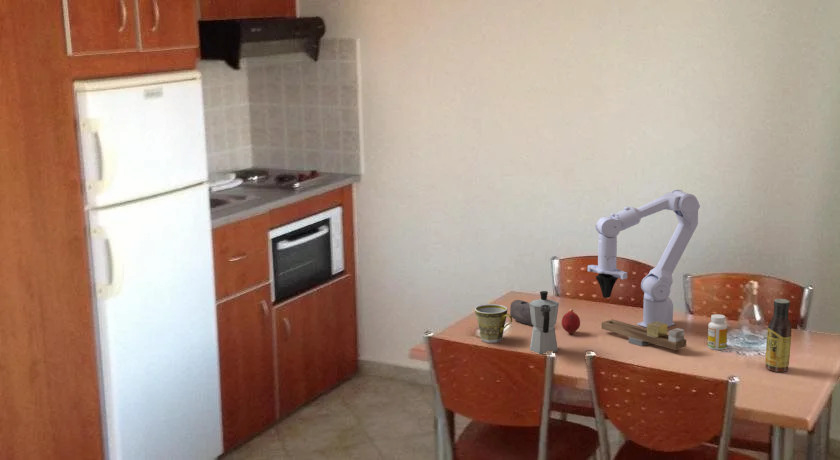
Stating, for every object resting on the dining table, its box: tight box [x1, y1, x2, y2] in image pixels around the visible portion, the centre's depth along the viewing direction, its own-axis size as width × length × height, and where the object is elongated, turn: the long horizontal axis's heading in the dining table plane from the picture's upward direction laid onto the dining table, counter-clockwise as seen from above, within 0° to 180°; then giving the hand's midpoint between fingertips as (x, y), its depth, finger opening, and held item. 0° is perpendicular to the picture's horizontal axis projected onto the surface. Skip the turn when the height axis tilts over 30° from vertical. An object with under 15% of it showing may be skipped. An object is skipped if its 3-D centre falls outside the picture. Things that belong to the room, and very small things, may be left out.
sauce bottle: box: [764, 298, 793, 373], centre depth 260 cm, size 6×6×20 cm
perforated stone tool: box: [509, 299, 533, 327], centre depth 308 cm, size 15×5×7 cm, turn 37°
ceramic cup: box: [474, 303, 513, 344], centre depth 292 cm, size 13×10×10 cm
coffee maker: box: [528, 290, 560, 355], centre depth 280 cm, size 15×9×18 cm, turn 178°
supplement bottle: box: [707, 313, 728, 351], centre depth 281 cm, size 5×5×10 cm
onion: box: [561, 308, 581, 335], centre depth 297 cm, size 6×6×8 cm
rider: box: [646, 321, 668, 338], centre depth 283 cm, size 4×4×5 cm
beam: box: [601, 318, 687, 351], centre depth 288 cm, size 7×28×6 cm, turn 38°
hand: (606, 297), depth 300 cm, fingers closed
